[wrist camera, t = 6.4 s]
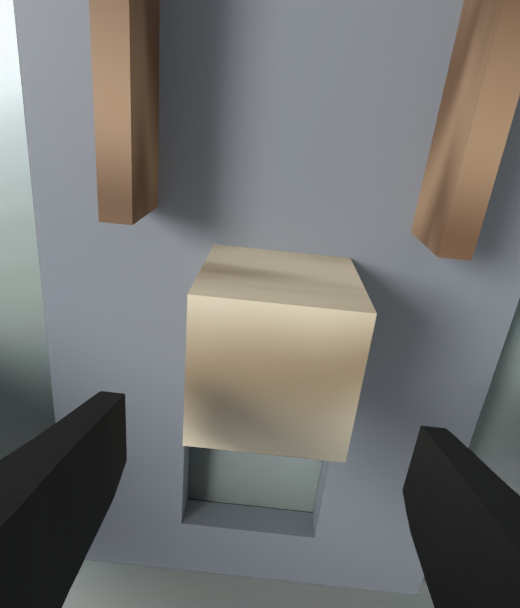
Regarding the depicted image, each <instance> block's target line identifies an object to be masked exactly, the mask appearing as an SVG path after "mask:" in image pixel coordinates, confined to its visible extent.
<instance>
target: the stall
mask: <svg viewBox="0 0 520 608" xmlns="http://www.w3.org/2000/svg"><path fill="white" fill-rule="evenodd" d="M89 14H90V37H91V60H92V82H93V105H94V128H95V150H96V173H97V196H98V219H99V222H105V223H114V224H124V225H134V224H135V223H136V222H138V221H139V220H140V219H142V218H143V217H144V216H146V215H147V214H149V213H150V212H151V211H153V210H154V209H155V208H157V207H158V162H159V26H160V0H89ZM519 95H520V0H464V2H463V7H462V11H461V16H460V20H459V24H458V29H457V33H456V37H455V42H454V46H453V51H452V55H451V59H450V64H449V68H448V72H447V77H446V81H445V86H444V90H443V94H442V99H441V103H440V107H439V112H438V116H437V121H436V125H435V129H434V134H433V138H432V142H431V147H430V151H429V156H428V160H427V164H426V169H425V173H424V177H423V182H422V186H421V191H420V195H419V199H418V204H417V208H416V212H415V217H414V221H413V226H412V230H411V233H412V234H413V235H414V236H415V237H416V238H417V239H418V240H419V241H421V242H422V243H423V244H424V245H425V246H426V247H427V248H428V249H429V250H430V251H431V252H432V253H434V254H435V255H436V256H437V257H440V258H449V259H459V260H469V261H472V258H473V255H474V251H475V248H476V244H477V241H478V237H479V234H480V230H481V227H482V224H483V220H484V217H485V213H486V210H487V206H488V203H489V199H490V196H491V192H492V189H493V185H494V182H495V179H496V175H497V172H498V168H499V165H500V161H501V158H502V154H503V151H504V147H505V144H506V140H507V137H508V133H509V130H510V127H511V123H512V120H513V116H514V113H515V109H516V106H517V102H518V99H519Z"/></svg>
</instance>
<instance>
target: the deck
mask: <svg viewBox="0 0 520 608" xmlns="http://www.w3.org/2000/svg"><path fill="white" fill-rule="evenodd" d="M463 2H464V0H160V26H159V162H158V207H157V208H155V209H154V210H153V211H151V212H150V213H149V214H147V215H146V216H144V217H143V218H142V219H140V220H139V221H138V222H136V223H135V224H134V225H124V224H114V223H105V222H99V219H98V196H97V173H96V150H95V128H94V105H93V82H92V60H91V37H90V14H89V0H13V3H14V13H15V23H16V33H17V43H18V53H19V64H20V74H21V84H22V94H23V104H24V114H25V124H26V134H27V144H28V154H29V165H30V175H31V185H32V195H33V205H34V215H35V225H36V235H37V245H38V255H39V265H40V276H41V286H42V296H43V306H44V316H45V326H46V336H47V346H48V356H49V366H50V377H51V387H52V397H53V407H54V417H55V423H57V422H58V421H59V420H61V419H62V418H64V417H65V416H66V415H68V414H69V413H71V412H72V411H73V410H75V409H76V408H77V407H79V406H80V405H81V404H83V403H84V402H86V401H87V400H88V399H90V398H91V397H93V396H94V395H95V394H97V393H98V392H100V391H105V392H114V393H124V394H125V405H126V445H127V461H126V464H125V467H124V470H123V473H122V476H121V479H120V482H119V485H118V488H117V491H116V493H115V496H114V499H113V501H112V503H111V505H110V508H109V510H108V512H107V514H106V516H105V518H104V520H103V522H102V524H101V526H100V529H99V531H98V533H97V535H96V537H95V539H94V541H93V543H92V545H91V547H90V549H89V551H88V553H87V555H86V557H85V560H94V561H103V562H112V563H122V564H131V565H140V566H149V567H159V568H168V569H177V570H186V571H196V572H205V573H214V574H223V575H233V576H242V577H251V578H260V579H270V580H279V581H288V582H297V583H307V584H316V585H325V586H334V587H344V588H353V589H362V590H371V591H381V592H390V593H399V594H408V595H418V593H419V590H420V587H421V584H422V582H423V579H424V574H423V570H422V567H421V564H420V561H419V558H418V555H417V552H416V549H415V545H414V542H413V539H412V536H411V532H410V528H409V523H408V518H407V513H406V508H405V502H404V496H403V491H402V490H403V486H404V483H405V479H406V476H407V472H408V469H409V465H410V462H411V458H412V455H413V451H414V448H415V444H416V441H417V437H418V434H419V430H420V427H421V426H430V427H439V428H446V429H448V430H449V431H450V432H451V433H452V434H453V435H454V436H456V437H457V438H458V439H459V440H460V441H461V442H462V443H463V444H464V445H465V446H466V447H467V448H469V445H470V442H471V439H472V436H473V433H474V430H475V427H476V424H477V421H478V418H479V416H480V413H481V410H482V407H483V404H484V401H485V398H486V395H487V392H488V389H489V386H490V384H491V381H492V378H493V375H494V372H495V369H496V366H497V363H498V360H499V357H500V354H501V352H502V349H503V346H504V343H505V340H506V337H507V334H508V331H509V328H510V325H511V322H512V319H513V317H514V314H515V311H516V308H517V305H518V302H519V299H520V95H519V99H518V102H517V106H516V109H515V113H514V116H513V120H512V123H511V127H510V130H509V133H508V137H507V140H506V144H505V147H504V151H503V154H502V158H501V161H500V165H499V168H498V172H497V175H496V179H495V182H494V185H493V189H492V192H491V196H490V199H489V203H488V206H487V210H486V213H485V217H484V220H483V224H482V227H481V230H480V234H479V237H478V241H477V244H476V248H475V251H474V255H473V258H472V261H469V260H459V259H449V258H440V257H437V256H436V255H435V254H434V253H432V252H431V251H430V250H429V249H428V248H427V247H426V246H425V245H424V244H423V243H422V242H421V241H419V240H418V239H417V238H416V237H415V236H414V235H413V234H412V233H411V230H412V226H413V221H414V217H415V212H416V208H417V204H418V199H419V195H420V191H421V186H422V182H423V177H424V173H425V169H426V164H427V160H428V156H429V151H430V147H431V142H432V138H433V134H434V129H435V125H436V121H437V116H438V112H439V107H440V103H441V99H442V94H443V90H444V86H445V81H446V77H447V72H448V68H449V64H450V59H451V55H452V51H453V46H454V42H455V37H456V33H457V29H458V24H459V20H460V16H461V11H462V7H463ZM214 244H217V245H227V246H237V247H247V248H256V249H266V250H276V251H286V252H296V253H305V254H315V255H325V256H335V257H345V258H351V260H352V262H353V264H354V266H355V269H356V271H357V273H358V275H359V277H360V279H361V281H362V283H363V285H364V288H365V290H366V292H367V294H368V296H369V298H370V300H371V302H372V304H373V306H374V309H375V311H376V313H377V316H376V321H375V325H374V330H373V335H372V340H371V344H370V349H369V354H368V359H367V363H366V368H365V373H364V378H363V382H362V387H361V392H360V397H359V401H358V406H357V411H356V416H355V420H354V425H353V430H352V434H351V439H350V444H349V449H348V453H347V458H346V463H343V462H334V461H324V460H323V462H322V467H321V473H320V478H319V483H318V488H317V494H316V499H315V504H314V510H313V513H310V512H300V511H291V510H282V509H273V508H263V507H254V506H245V505H235V504H226V503H217V502H207V501H198V500H189V499H187V497H188V474H189V451H190V446H183V418H184V387H185V356H186V325H187V294H188V292H189V290H190V289H191V287H192V285H193V283H194V281H195V279H196V277H197V275H198V273H199V271H200V270H201V268H202V266H203V264H204V262H205V260H206V258H207V256H208V254H209V253H210V251H211V249H212V247H213V245H214Z"/></svg>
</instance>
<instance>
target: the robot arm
mask: <svg viewBox="0 0 520 608" xmlns="http://www.w3.org/2000/svg"><path fill="white" fill-rule="evenodd" d="M126 461H127V445H126V405H125V394H124V393H114V392H105V391H100V392H98V393H97V394H95V395H94V396H93V397H91V398H90V399H88V400H87V401H86V402H84V403H83V404H81V405H80V406H79V407H77V408H76V409H75V410H73V411H72V412H71V413H69V414H68V415H66V416H65V417H64V418H62V419H61V420H59V421H58V422H57V423H55V424H54V425H52V426H51V427H50V428H48V429H47V430H45V431H44V432H42V433H41V434H40V435H38V436H37V437H35V438H34V439H32V440H31V441H29V442H28V443H26V444H25V445H23V446H21V447H20V448H18V449H17V450H15V451H14V452H12V453H11V454H9V455H7V456H6V457H4V458H3V459H1V460H0V608H62V606H63V604H64V601H65V599H66V597H67V595H68V592H69V590H70V588H71V586H72V584H73V582H74V580H75V578H76V576H77V574H78V572H79V570H80V568H81V565H82V563H83V561H84V559H85V557H86V555H87V553H88V551H89V549H90V547H91V545H92V543H93V541H94V539H95V537H96V535H97V533H98V531H99V529H100V526H101V524H102V522H103V520H104V518H105V516H106V514H107V512H108V510H109V508H110V505H111V503H112V501H113V499H114V496H115V493H116V491H117V488H118V485H119V482H120V479H121V476H122V473H123V470H124V467H125V464H126ZM402 491H403V496H404V502H405V508H406V513H407V518H408V523H409V528H410V532H411V536H412V539H413V542H414V545H415V549H416V552H417V555H418V558H419V561H420V564H421V567H422V570H423V574H424V577H425V580H426V583H427V586H428V589H429V592H430V595H431V598H432V601H433V604H434V607H435V608H520V496H519V495H518V494H517V493H516V492H515V491H513V490H512V489H511V488H510V487H509V486H508V485H507V484H506V483H505V482H504V481H502V480H501V479H500V478H499V477H498V476H497V475H496V474H495V473H494V472H493V471H492V470H491V469H490V468H489V467H487V466H486V465H485V464H484V463H483V462H482V461H481V460H480V459H479V458H478V457H477V456H476V455H475V454H474V453H473V452H472V451H471V450H470V449H468V448H467V447H466V446H465V445H464V444H463V443H462V442H461V441H460V440H459V439H458V438H457V437H456V436H454V435H453V434H452V433H451V432H450V431H449V430H448V429H446V428H439V427H430V426H421V427H420V430H419V434H418V437H417V441H416V444H415V448H414V451H413V455H412V458H411V462H410V465H409V469H408V472H407V476H406V479H405V483H404V486H403V490H402Z"/></svg>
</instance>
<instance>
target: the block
mask: <svg viewBox="0 0 520 608" xmlns="http://www.w3.org/2000/svg"><path fill="white" fill-rule="evenodd" d="M376 316H377V313H376V311H375V309H374V306H373V304H372V302H371V300H370V298H369V296H368V294H367V292H366V290H365V288H364V285H363V283H362V281H361V279H360V277H359V275H358V273H357V271H356V269H355V266H354V264H353V262H352V260H351V258H345V257H335V256H325V255H315V254H305V253H296V252H286V251H276V250H266V249H256V248H247V247H237V246H227V245H217V244H214V245H213V247H212V249H211V251H210V253H209V254H208V256H207V258H206V260H205V262H204V264H203V266H202V268H201V270H200V271H199V273H198V275H197V277H196V279H195V281H194V283H193V285H192V287H191V289H190V290H189V292H188V294H187V325H186V356H185V387H184V418H183V446H190V447H200V448H209V449H219V450H229V451H238V452H248V453H257V454H267V455H276V456H286V457H295V458H305V459H315V460H324V461H334V462H343V463H346V458H347V453H348V449H349V444H350V439H351V434H352V430H353V425H354V420H355V416H356V411H357V406H358V401H359V397H360V392H361V387H362V382H363V378H364V373H365V368H366V363H367V359H368V354H369V349H370V344H371V340H372V335H373V330H374V325H375V321H376Z"/></svg>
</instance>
